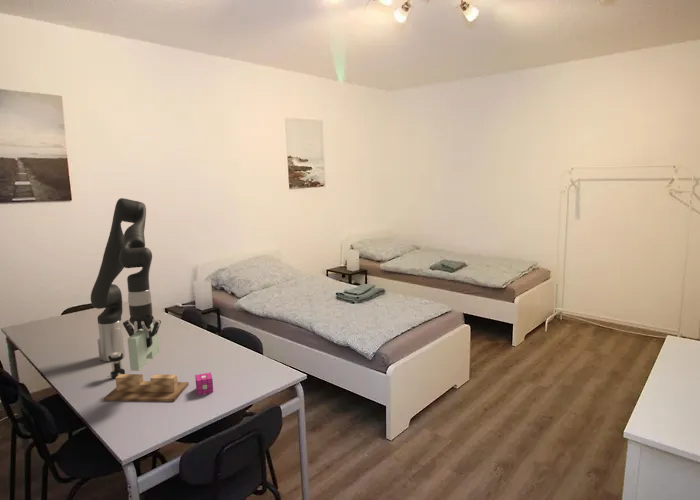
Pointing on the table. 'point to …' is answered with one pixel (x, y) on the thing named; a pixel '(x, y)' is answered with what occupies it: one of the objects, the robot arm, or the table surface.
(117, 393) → the oak slotted rail
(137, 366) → the sage slotted plate
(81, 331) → the table surface
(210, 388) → the puzzle toy
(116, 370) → the push button
